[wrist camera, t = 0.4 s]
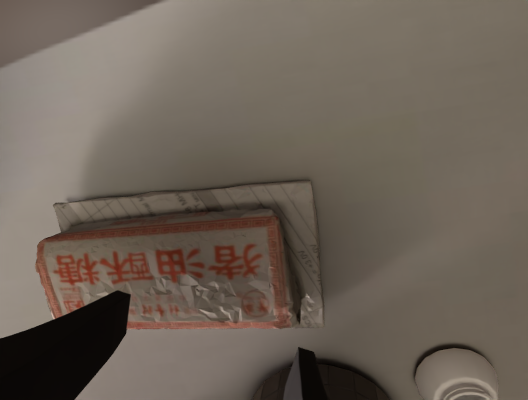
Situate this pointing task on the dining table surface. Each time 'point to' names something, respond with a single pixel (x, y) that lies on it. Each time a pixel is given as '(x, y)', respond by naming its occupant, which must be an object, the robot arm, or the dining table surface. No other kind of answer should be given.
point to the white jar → (456, 376)
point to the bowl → (325, 385)
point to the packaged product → (191, 257)
